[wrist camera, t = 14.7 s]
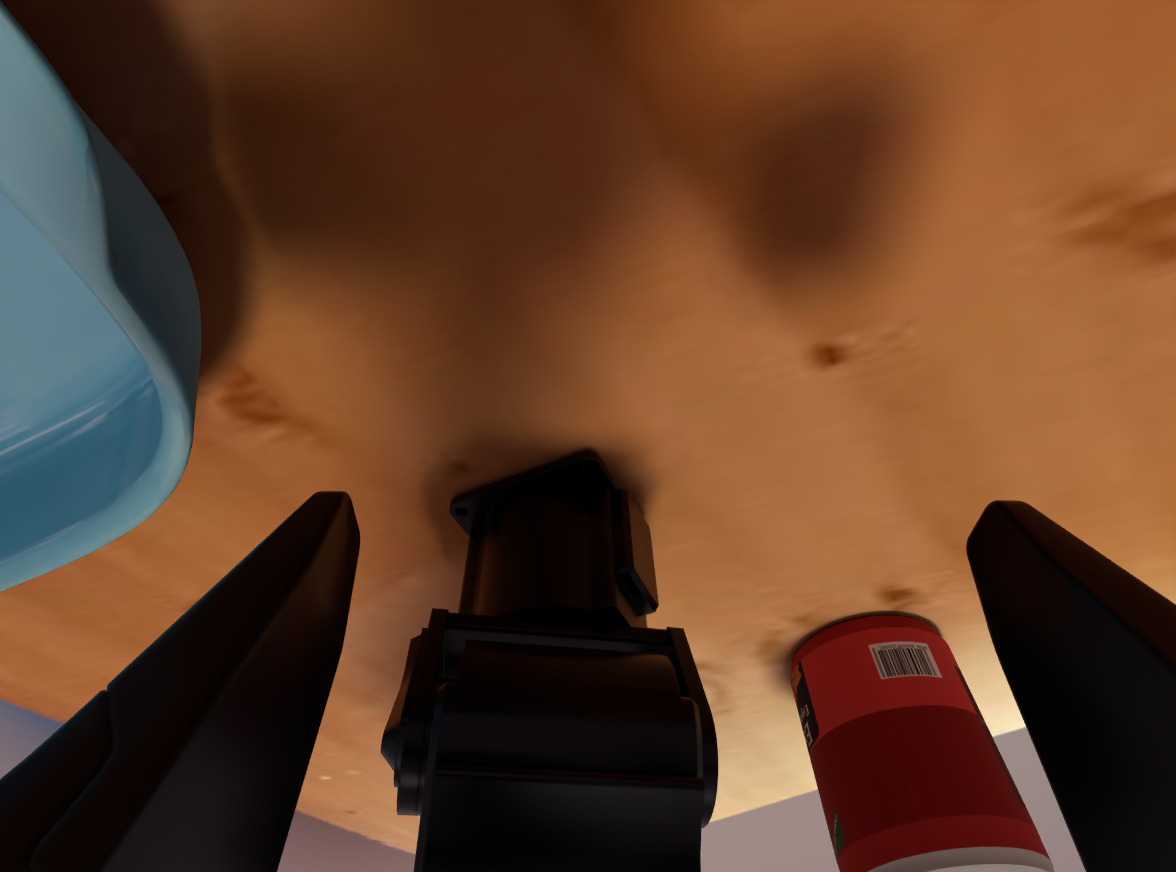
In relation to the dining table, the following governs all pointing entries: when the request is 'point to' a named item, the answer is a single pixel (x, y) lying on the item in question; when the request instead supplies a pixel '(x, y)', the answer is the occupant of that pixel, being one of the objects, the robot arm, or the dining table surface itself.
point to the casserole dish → (83, 329)
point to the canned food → (906, 755)
